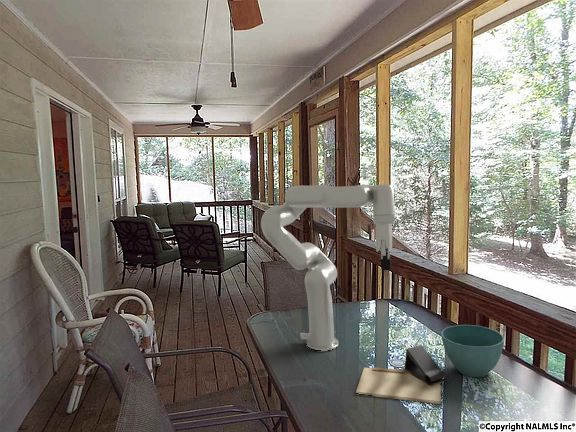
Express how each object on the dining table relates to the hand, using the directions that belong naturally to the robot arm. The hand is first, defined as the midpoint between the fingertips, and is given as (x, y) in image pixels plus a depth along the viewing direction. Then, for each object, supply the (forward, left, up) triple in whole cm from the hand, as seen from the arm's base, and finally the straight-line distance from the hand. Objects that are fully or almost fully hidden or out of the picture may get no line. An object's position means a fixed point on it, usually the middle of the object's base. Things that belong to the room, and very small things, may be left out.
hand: (386, 269), depth 147 cm
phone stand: (+9, -13, -27) cm, 31 cm away
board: (+5, -23, -31) cm, 39 cm away
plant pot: (+27, -9, -31) cm, 42 cm away
